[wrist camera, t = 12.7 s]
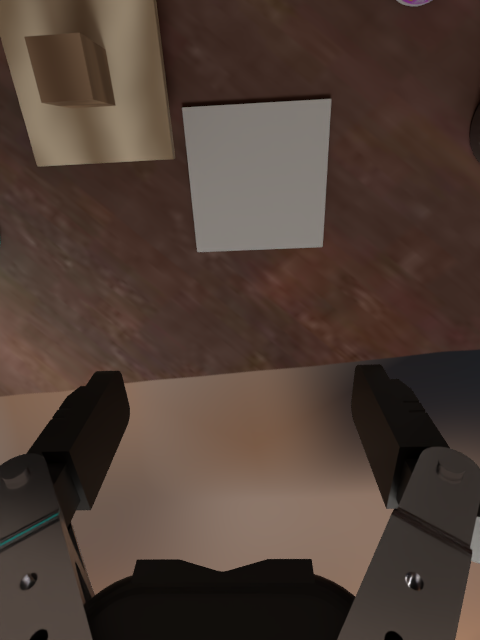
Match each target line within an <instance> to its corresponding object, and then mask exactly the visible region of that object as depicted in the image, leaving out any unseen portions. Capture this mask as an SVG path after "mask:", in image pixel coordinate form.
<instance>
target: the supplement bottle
mask: <svg viewBox="0 0 480 640" xmlns="http://www.w3.org/2000/svg"><path fill="white" fill-rule="evenodd" d="M396 1H398V2H399V3H401V4H403V5H406V6H420V5H423V4H426V3H428V2H430V1H432V0H396Z"/></svg>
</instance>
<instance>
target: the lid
mask: <svg viewBox="0 0 480 640" xmlns="http://www.w3.org/2000/svg"><path fill="white" fill-rule="evenodd" d="M0 37H1V40H2V44H3V47H4V51H5V54H6V58H7V61H8V65H9V68H10V72H11V75H12V79H13V82H14V86H15V89H16V93H17V96H18V100H19V103H20V107H21V110H22V114H23V117H24V121H25V124H26V128H27V131H28V135H29V138H30V142H31V145H32V149H33V152H34V156H35V159H36V163H37V166H56V165H74V164H92V163H110V162H128V161H146V160H164V159H175V152H174V144H173V135H172V127H171V119H170V111H169V102H168V94H167V86H166V78H165V70H164V61H163V53H162V45H161V37H160V28H159V20H158V12H157V4H156V0H0Z"/></svg>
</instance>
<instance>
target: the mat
mask: <svg viewBox="0 0 480 640" xmlns="http://www.w3.org/2000/svg"><path fill="white" fill-rule="evenodd" d="M182 111H183V121H184V130H185V140H186V149H187V159H188V168H189V178H190V187H191V197H192V206H193V216H194V225H195V235H196V244H197V252H212V251H236V250H261V249H285V248H309V247H323V232H324V215H325V198H326V180H327V163H328V146H329V129H330V112H331V99H319V100H302V101H285V102H268V103H251V104H234V105H217V106H200V107H183V108H182Z"/></svg>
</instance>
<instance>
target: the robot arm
mask: <svg viewBox="0 0 480 640" xmlns="http://www.w3.org/2000/svg"><path fill="white" fill-rule="evenodd" d="M470 145H471V149H472V152H473V154H474V156H475V157H476V159H477V161H478V162H480V104H479V106H478V108H477V110H476V112H475V114H474V117H473V120H472V123H471V129H470ZM351 411H352V417H353V420H354V423H355V426H356V429H357V431H358V434H359V436H360V439H361V442H362V444H363V447H364V450H365V453H366V455H367V458H368V461H369V463H370V466H371V469H372V471H373V474H374V477H375V479H376V482H377V485H378V487H379V490H380V493H381V496H382V498H383V501H384V503H385V506H386V508H387V509H394V510H393V512H392V514H391V516H390V519H389V521H388V524H387V526H386V528H385V530H384V533H383V535H382V537H381V539H380V542H379V544H378V546H377V549H376V551H375V553H374V556H373V558H372V560H371V563H370V565H369V567H368V570H367V572H366V574H365V576H364V579H363V581H362V583H361V586H360V588H359V590H358V592H357V595H356V597H355V596H354V595H353V594H351V593H350V592H348V591H347V590H346V589H344V588H343V587H341V586H340V585H338V584H336V583H335V582H333V581H331V580H328V579H326V578H324V577H321V576H318V575H315V574H314V573H313V566H312V560H311V559H267V560H264V561H260V562H257V563H254V564H250V565H246V566H243V567H239V568H236V569H233V570H229V571H225V572H220V571H216V570H212V569H209V568H206V567H203V566H199V565H195V564H193V563H189V562H186V561H183V560H137V561H136V565H135V569H134V573H133V575H132V576H129V577H126V578H124V579H122V580H119V581H117V582H115V583H113V584H112V585H110V586H108V587H106V588H105V589H103V590H102V591H100V592H99V593H98V594H96V595H95V594H94V591H93V589H92V586H91V583H90V580H89V577H88V573H87V571H86V567H85V564H84V560H83V557H82V554H81V551H80V548H79V544H78V541H77V538H76V535H75V531H74V528H73V525H72V523H71V520H72V518H73V515H74V513H75V511H76V510H91V508H92V506H93V504H94V502H95V499H96V497H97V495H98V492H99V490H100V488H101V485H102V483H103V481H104V478H105V476H106V474H107V471H108V469H109V467H110V464H111V462H112V460H113V457H114V455H115V453H116V450H117V448H118V446H119V444H120V441H121V439H122V437H123V434H124V432H125V430H126V427H127V425H128V421H129V417H130V407H129V402H128V398H127V394H126V390H125V386H124V382H123V377H122V374H121V372H120V371H97V372H95V373H94V374H93V376H92V377H91V379H90V380H89V382H88V383H87V385H86V386H80V387H79V388H78V389H76V390H75V391H74V392H72V393H71V394H70V395H69V396H67V398H66V399H65V400H64V402H63V403H62V405H61V406H60V407H59V410H57V412H56V413H55V414H54V416H53V419H52V420H50V421H49V423H48V424H47V426H46V427H45V429H44V430H43V431H42V433H41V434H40V435H39V437H38V438H37V440H36V441H35V442H34V444H33V446H32V447H31V448H30V449H29V451H28V452H27V454H23V455H19V456H17V457H14V458H12V459H10V460H8V461H6V462H5V463H3V464H2V465H0V640H455V638H456V632H457V628H458V622H459V618H460V613H461V608H462V603H463V599H464V594H465V589H466V584H467V579H468V574H469V569H470V564H471V561H473V562H476V563H480V468H479V467H478V465H477V464H476V463H475V462H474V461H473V460H471V459H470V458H469V457H467V456H466V455H464V454H462V453H461V452H458V451H456V450H453V449H450V447H449V446H448V444H447V443H446V441H445V440H444V438H443V437H442V435H441V434H440V432H439V431H438V429H437V427H436V426H435V424H434V423H433V421H432V420H431V418H430V417H429V415H428V414H427V413H425V409H424V408H423V406H422V405H421V403H419V400H418V398H417V397H416V396H415V394H414V392H413V391H412V390H411V388H409V387H408V386H407V385H405V384H404V383H403V382H401V381H400V380H399V379H389V377H388V375H387V374H386V372H385V370H384V369H383V367H382V366H381V365H380V364H379V365H357V366H356V368H355V375H354V382H353V391H352V399H351Z"/></svg>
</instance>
